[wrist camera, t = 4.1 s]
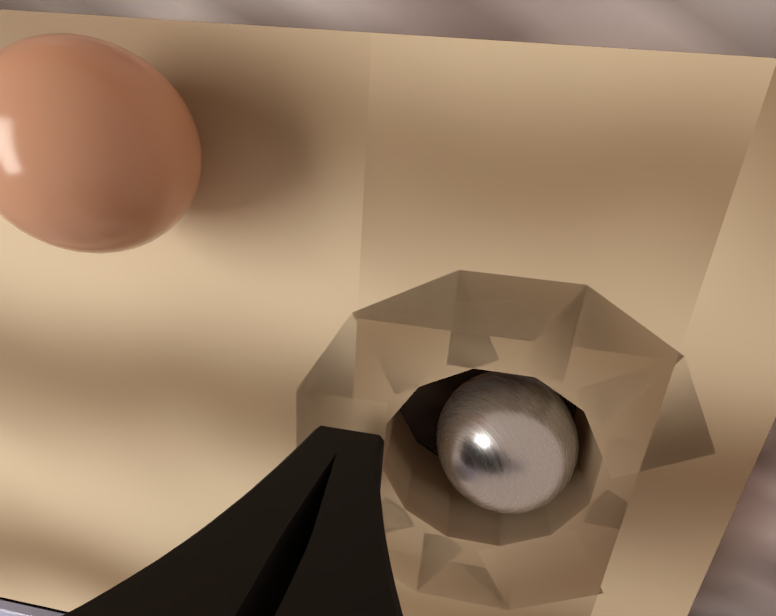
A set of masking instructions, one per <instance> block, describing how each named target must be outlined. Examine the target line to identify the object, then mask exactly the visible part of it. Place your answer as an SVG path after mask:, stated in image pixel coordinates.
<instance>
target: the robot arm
mask: <svg viewBox="0 0 776 616" xmlns="http://www.w3.org/2000/svg"><path fill="white" fill-rule="evenodd" d="M383 453H384V440H383V438H382V437H381V436H380V435H377V434H371V433H364V432H358V431H352V430H346V429H339V428H333V427H327V426H319V427H318V428H316V429H315V430H314V431H313V432H312V433H311V434H310V435H309V436H308V437H307V438H306V439H305V440H304V441H303V442H302V443H301V444H300V445H299V446H298V447H297V448H296V449H295V450H294V451H293V452H292V453H291V454H289V455H288V456H287V457H286V458H285V459H284V460H283V461H282V462H281V463H280V464H279V465H278V466H277V467H276V468H274V469H273V470H272V471H271V472H270V473H269V474H268V475H267V476H265V477H264V478H263V479H262V480H261V481H260V482H259V483H258V484H256V485H255V486H254V487H253V488H252V489H251V490H250V491H248V492H247V493H246V494H245V495H244V496H243V497H241V498H240V499H239V500H238V501H236V502H235V503H234V504H233V505H231V506H230V507H229V508H228V509H226V510H225V511H224V512H223V513H221V514H220V515H219V516H218V517H216V518H215V519H214V520H213V521H211V522H210V523H209V524H207V525H206V526H205V527H203V528H202V529H201V530H199V531H198V532H197V533H195V534H194V535H192V536H191V537H190V538H188V539H187V540H185V541H184V542H183V543H181V544H180V545H178V546H177V547H175V548H174V549H172V550H171V551H169V552H168V553H167V554H165V555H164V556H162V557H161V558H159V559H158V560H156V561H155V562H153V563H151V564H150V565H148V566H147V567H145V568H143V569H142V570H140V571H139V572H137V573H135V574H134V575H132V576H131V577H129V578H127V579H126V580H124V581H122V582H121V583H119V584H117V585H116V586H114V587H112V588H111V589H109V590H107V591H105V592H104V593H102V594H100V595H99V596H97V597H95V598H94V599H92V600H90V601H88V602H87V603H85V604H83V605H81V606H79V607H77V608H76V609H74V610H72V611H70V612H68V613H66V614H63V613H59V612H54V611H50V610H45V609H41V608H36V607H32V606H27V605H23V604H18V603H14V602H9V601H4V600H0V616H403V614H402V610H401V606H400V602H399V598H398V594H397V590H396V586H395V581H394V577H393V572H392V568H391V563H390V558H389V552H388V547H387V541H386V535H385V528H384V522H383V512H382V503H381V492H380V489H381V477H382V465H383Z"/></svg>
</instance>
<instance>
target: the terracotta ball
mask: <svg viewBox="0 0 776 616" xmlns="http://www.w3.org/2000/svg"><path fill="white" fill-rule="evenodd" d="M201 168H202V151H201V143H200V138H199V134H198V130H197V127H196V125H195V122H194V119H193V117H192V115H191V113H190V111H189V109H188V107H187V105H186V104H185V102H184V101H183V99H182V98H181V96H180V94H179V93H178V92H177V91H176V89H175V88H174V87H173V85H172V84H171V83H170V82H169V81H168V80H167V79H166V78H165V77H164V76H163V75H162V74H161V73H160V72H159V71H158V70H156V69H155V68H154V67H153V66H151V65H150V64H149V63H148V62H146V61H145V60H144V59H142V58H141V57H139V56H137V55H136V54H134V53H133V52H131V51H129V50H127V49H125V48H122V47H120V46H118V45H116V44H114V43H112V42H108V41H105V40H102V39H99V38H95V37H91V36H87V35H80V34H71V33H49V34H42V35H37V36H31V37H27V38H24V39H22V40H19V41H16V42H14V43H11V44H9V45H6V46H5V47H3V48H2V49H0V215H1V216H2V217H3V218H4V219H6V220H7V221H8V222H9V223H11V224H12V225H13V226H15V227H16V228H18V229H19V230H21V231H22V232H24V233H26V234H27V235H29V236H31V237H33V238H35V239H38V240H40V241H42V242H44V243H46V244H49V245H52V246H55V247H58V248H62V249H66V250H70V251H75V252H81V253H98V254H103V253H114V252H122V251H126V250H130V249H134V248H137V247H140V246H143V245H145V244H147V243H150V242H152V241H153V240H155V239H157V238H158V237H160V236H162V235H163V234H165V233H166V232H167V231H169V230H170V229H171V228H172V227H173V226H174V225H175V224H176V223H177V222H178V221H179V220H180V219H181V218H182V217H183V215H184V214H185V213H186V211H187V210H188V208H189V206H190V204H191V203H192V201H193V199H194V197H195V194H196V192H197V189H198V186H199V182H200V177H201Z"/></svg>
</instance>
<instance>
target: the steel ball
mask: <svg viewBox="0 0 776 616" xmlns="http://www.w3.org/2000/svg"><path fill="white" fill-rule="evenodd" d="M436 444H437V451H438V456H439V460H440V463H441V465H442V468H443V470H444V472H445V474H446V475H447V477H448V479H449V480H450V482H451V483H452V484H453V486H454V487H455V488H456V489H457V490H458V491H459V492H460V493H461V494H462V495H463V496H464V497H466V498H467V499H468V500H470V501H471V502H473V503H474V504H476V505H478V506H480V507H482V508H485V509H487V510H490V511H494V512H499V513H505V514H516V513H524V512H529V511H532V510H535V509H537V508H540V507H542V506H544V505H546V504H547V503H549V502H550V501H552V500H553V499H555V498H556V497H557V496H558V495H559V494H560V492H561V491H562V490H563V489H564V488H565V487H566V485H567V484H568V482H569V480H570V479H571V477H572V475H573V472H574V469H575V467H576V463H577V459H578V449H579V443H578V434H577V429H576V425H575V422H574V419H573V417H572V415H571V412H570V411H569V409H568V407H567V406H566V404H565V403H564V401H563V400H562V399H561V398H560V396H559V395H558V394H557V393H556V392H555V391H554V390H553V389H552V388H550V387H549V386H547V385H546V384H545V383H543V382H542V381H540V380H538V379H536V378H534V377H530V376H523V375H516V374H509V373H502V372H495V371H491V372H486V373H483V374H480V375H477V376H475V377H473V378H471V379H469V380H468V381H466V382H464V383H463V384H462V385H461V386H459V387H458V388H457V389H456V390H455V391H454V392H453V394H452V395H451V396H450V397H449V399H448V400H447V402H446V403H445V405H444V407H443V409H442V411H441V414H440V417H439V420H438V425H437V433H436Z"/></svg>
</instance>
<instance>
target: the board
mask: <svg viewBox="0 0 776 616" xmlns="http://www.w3.org/2000/svg"><path fill="white" fill-rule="evenodd" d="M49 33H71V34H80V35H87V36H91V37H95V38H99V39H102V40H105V41H108V42H112V43H114V44H116V45H118V46H120V47H122V48H125V49H127V50H129V51H131V52H133V53H134V54H136V55H137V56H139V57H141V58H142V59H144V60H145V61H146V62H148V63H149V64H150V65H151V66H153V67H154V68H155V69H156V70H158V71H159V72H160V73H161V74H162V75H163V76H164V77H165V78H166V79H167V80H168V81H169V82H170V83H171V84H172V85H173V87H174V88H175V89H176V91H177V92H178V93H179V94H180V96H181V98H182V99H183V101H184V102H185V104H186V105H187V107H188V109H189V111H190V113H191V115H192V117H193V119H194V122H195V125H196V127H197V130H198V134H199V138H200V143H201V151H202V168H201V177H200V182H199V186H198V189H197V192H196V194H195V197H194V199H193V201H192V203H191V204H190V206H189V208H188V210H187V211H186V213H185V214H184V215H183V217H182V218H181V219H180V220H179V221H178V222H177V223H176V224H175V225H174V226H173V227H172V228H171V229H170V230H169V231H167V232H166V233H165V234H163V235H162V236H160V237H158V238H157V239H155V240H153V241H152V242H150V243H147V244H145V245H143V246H140V247H137V248H134V249H130V250H126V251H122V252H114V253H103V254H98V253H81V252H75V251H70V250H66V249H62V248H58V247H55V246H52V245H49V244H46V243H44V242H42V241H40V240H38V239H35V238H33V237H31V236H29V235H27V234H26V233H24V232H22V231H21V230H19V229H18V228H16V227H15V226H13V225H12V224H11V223H9V222H8V221H7V220H6V219H4V218H3V217H2V216H1V215H0V597H3V598H7V599H12V600H16V601H21V602H25V603H30V604H34V605H39V606H43V607H48V608H53V609H57V610H62V611H66V612H70V611H72V610H74V609H76V608H77V607H79V606H81V605H83V604H85V603H87V602H88V601H90V600H92V599H94V598H95V597H97V596H99V595H100V594H102V593H104V592H105V591H107V590H109V589H111V588H112V587H114V586H116V585H117V584H119V583H121V582H122V581H124V580H126V579H127V578H129V577H131V576H132V575H134V574H135V573H137V572H139V571H140V570H142V569H143V568H145V567H147V566H148V565H150V564H151V563H153V562H155V561H156V560H158V559H159V558H161V557H162V556H164V555H165V554H167V553H168V552H169V551H171V550H172V549H174V548H175V547H177V546H178V545H180V544H181V543H183V542H184V541H185V540H187V539H188V538H190V537H191V536H192V535H194V534H195V533H197V532H198V531H199V530H201V529H202V528H203V527H205V526H206V525H207V524H209V523H210V522H211V521H213V520H214V519H215V518H216V517H218V516H219V515H220V514H221V513H223V512H224V511H225V510H226V509H228V508H229V507H230V506H231V505H233V504H234V503H235V502H236V501H238V500H239V499H240V498H241V497H243V496H244V495H245V494H246V493H247V492H248V491H250V490H251V489H252V488H253V487H254V486H255V485H256V484H258V483H259V482H260V481H261V480H262V479H263V478H264V477H265V476H267V475H268V474H269V473H270V472H271V471H272V470H273V469H274V468H276V467H277V466H278V465H279V464H280V463H281V462H282V461H283V460H284V459H285V458H286V457H287V456H288V455H289V454H291V453H292V452H293V451H294V450H295V449H296V448H297V447H298V446H299V445H300V444H301V443H302V442H303V441H304V440H305V439H306V438H307V437H308V436H309V435H310V434H311V433H312V432H313V431H314V430H315V429H316V428H318V427H319V426H327V427H333V428H339V429H346V430H352V431H358V432H364V433H371V434H377V435H380V436H381V437H382V438H383V440H384V453H383V465H382V477H381V489H380V492H381V503H382V512H383V522H384V528H385V535H386V541H387V547H388V552H389V558H390V563H391V568H392V572H393V577H394V581H395V586H396V590H397V594H398V598H399V602H400V606H401V610H402V614H403V616H687V615H688V613H689V611H690V609H691V606H692V604H693V602H694V600H695V597H696V595H697V593H698V591H699V589H700V586H701V584H702V582H703V580H704V577H705V575H706V573H707V571H708V568H709V566H710V564H711V562H712V559H713V557H714V555H715V553H716V550H717V548H718V546H719V544H720V541H721V539H722V537H723V535H724V532H725V530H726V528H727V526H728V524H729V521H730V519H731V517H732V515H733V512H734V510H735V508H736V506H737V503H738V501H739V499H740V497H741V494H742V492H743V490H744V488H745V485H746V483H747V481H748V479H749V476H750V474H751V472H752V470H753V468H754V465H755V463H756V461H757V459H758V456H759V454H760V452H761V450H762V447H763V445H764V443H765V441H766V438H767V436H768V434H769V432H770V429H771V427H772V425H773V423H774V420H775V418H776V58H764V57H748V56H732V55H717V54H701V53H685V52H669V51H653V50H637V49H621V48H605V47H590V46H574V45H558V44H542V43H526V42H510V41H494V40H479V39H463V38H447V37H431V36H415V35H399V34H383V33H368V32H352V31H336V30H320V29H304V28H288V27H272V26H256V25H241V24H225V23H209V22H193V21H177V20H161V19H145V18H130V17H114V16H98V15H82V14H66V13H50V12H34V11H19V10H3V9H0V49H2V48H3V47H5V46H6V45H9V44H11V43H14V42H16V41H19V40H22V39H24V38H27V37H31V36H37V35H42V34H49ZM471 369H481V370H488V371H495V372H502V373H509V374H516V375H523V376H530V377H536V378H538V379H539V380H540V381H542V382H543V383H545V384H546V385H547V386H549V387H550V388H552V389H553V390H555V391H556V392H557V393H559V394H560V395H562V396H563V397H564V398H566V399H567V400H569V401H570V402H572V403H573V404H574V405H576V406H577V408H576V412H575V416H574V422H575V425H576V429H577V434H578V443H579V449H578V459H577V463H576V467H575V469H574V472H573V475H572V477H571V479H570V480H569V482H568V484H567V485H566V487H565V488H564V489H563V490H562V491H561V492H560V494H559V495H558V496H557V497H556V498H555V499H553V500H552V501H550V502H549V503H547V504H546V505H544V506H542V507H540V508H537V509H535V510H532V511H529V512H524V513H516V514H505V513H499V512H494V511H490V510H487V509H485V508H482V507H480V506H478V505H476V504H474V503H473V502H471V501H470V500H468V499H467V498H466V497H464V496H463V495H462V494H461V493H460V492H459V491H458V490H457V489H456V488H455V487H454V486H453V484H452V483H451V482H450V480H449V479H448V477H447V475H446V474H445V472H444V470H443V468H442V465H441V463H440V460H439V457H438V456H437V455H435V454H434V453H432V452H431V451H429V450H428V449H426V448H425V447H423V446H422V445H420V444H419V443H417V442H416V440H415V438H414V436H413V434H412V432H411V430H410V428H409V426H408V425H407V423H406V421H405V419H404V417H403V415H402V413H401V411H400V408H401V407H402V405H403V404H404V403H405V402H406V401H407V400H408V398H409V397H410V396H411V395H412V394H413V393H414V391H415V390H416V389H417V388H418V387H420V386H423V385H426V384H429V383H432V382H435V381H438V380H441V379H444V378H447V377H450V376H453V375H456V374H459V373H462V372H465V371H468V370H471Z"/></svg>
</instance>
